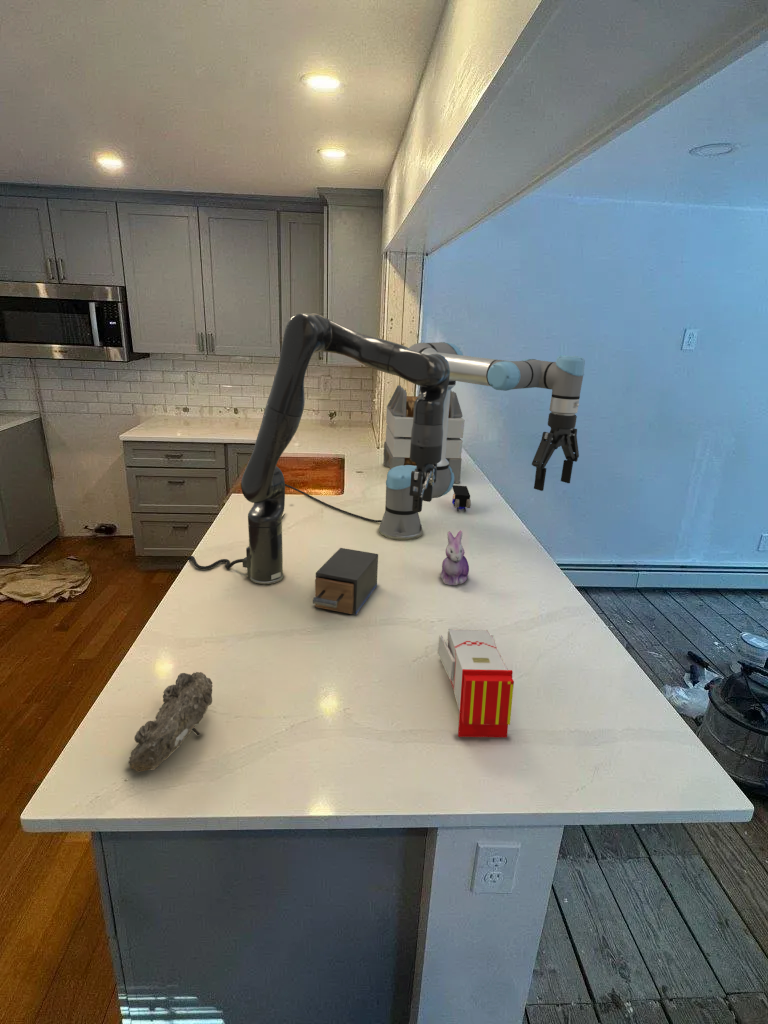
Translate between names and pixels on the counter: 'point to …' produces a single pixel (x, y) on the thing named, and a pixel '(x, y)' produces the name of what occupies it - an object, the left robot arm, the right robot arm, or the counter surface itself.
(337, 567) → the cabinet
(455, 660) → the toy
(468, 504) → the figurine character
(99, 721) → the counter surface
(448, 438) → the slatted crate
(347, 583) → the drawer
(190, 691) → the fossil
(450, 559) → the figurine
